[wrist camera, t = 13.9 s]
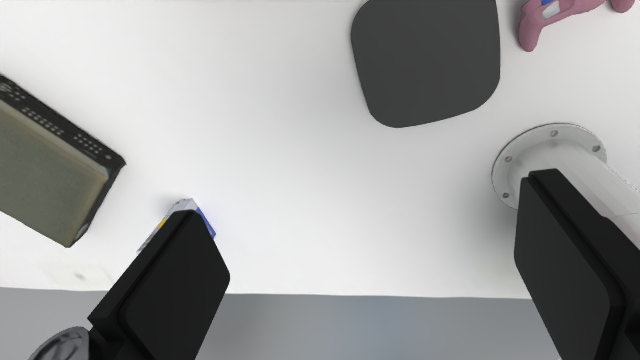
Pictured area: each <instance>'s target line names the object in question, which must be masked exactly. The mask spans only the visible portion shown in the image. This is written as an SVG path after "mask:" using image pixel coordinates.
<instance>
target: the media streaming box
mask: <svg viewBox="0 0 640 360" xmlns="http://www.w3.org/2000/svg"><path fill="white" fill-rule="evenodd" d="M351 43H352V48H353V53H354V58H355V63H356V67H357V71H358V75H359V79H360V83H361V86H362V90H363V93H364V96H365V100H366V103H367V106H368V109H369V111H370V113H371V115H372V116H373V117H374V118H375V119H376V120H377V121H378V122H380V123H381V124H383V125H386V126H389V127H394V128H402V127H409V126H416V125H421V124H426V123H431V122H435V121H439V120H443V119H447V118H451V117H454V116H457V115H460V114H464V113H467V112H469V111H472V110H475V109H477V108H478V107H480V106H481V105H482V104H484V103H485V102H486V101H487V100H488V99H489V98H490V97H491V95H492V94H493V93H494V91H495V89H496V87H497V85H498V83H499V79H500V34H499V23H498V14H497V6H496V0H369V1H368V2H366V3H365V4H364V5H363V6H362V7H361V8H360V10H359V11H358V13H357V15H356V17H355V19H354V22H353V25H352V29H351Z"/></svg>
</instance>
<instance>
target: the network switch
mask: <svg viewBox="0 0 640 360" xmlns="http://www.w3.org/2000/svg"><path fill="white" fill-rule="evenodd" d="M125 165H126V163H125V161H124V160H123V159H122V158H121V157H120V156H118V155H117V154H116V153H114V152H113V151H111V150H110V149H108V148H107V147H105V146H103V145H102V144H100V143H99V142H97V141H95V140H94V139H92V138H91V137H89V136H88V135H86V134H85V133H84V132H82V131H81V130H79V129H78V128H76V127H75V126H73V125H72V124H70V123H69V122H67V121H66V120H64V119H63V118H61V117H59V116H58V115H56V114H55V113H54V112H52V111H51V110H50V109H49V108H47V107H46V106H44V105H43V104H41V103H40V102H38V101H37V100H36V99H34V98H33V97H31V96H29V95H28V94H26V93H25V92H24V91H22V90H21V89H20V88H19V87H18V86H16V85H15V84H14V83H13V82H12V81H10V80H8V79H6V78H4V77H2V76H0V211H2V212H3V213H5V214H7V215H9V216H11V217H13V218H15V219H16V220H18V221H20V222H22V223H23V224H25V225H26V226H28V227H30V228H32V229H33V230H35V231H37V232H39V233H41V234H42V235H44V236H46V237H48V238H50V239H52V240H54V241H55V242H57V243H59V244H61V245H63V246H64V247H65V248H70V247H71V246H72V245H73V244H74V243H75V242H77V241H78V240H79V239H80V238H81V237H82V236H83V235H84V234H85V232H86V231H87V230H88V228H89V226H90V223H91V221H92V219H93V217H94V215H95V213H96V211H97V210H98V208H99V207H100V205H101V203H102V201H103V199H104V197H105V196H106V194H107V192H108V190H109V189H110V188H111V186H112V184H113V182H114V180H115V179H116V177H117V175H118V173H119V171H120V169H121V168H122V167H123V166H125Z"/></svg>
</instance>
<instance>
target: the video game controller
mask: <svg viewBox="0 0 640 360" xmlns="http://www.w3.org/2000/svg"><path fill="white" fill-rule="evenodd" d="M605 1H606V0H530V1H528V2H527V3H526V4H525V5H524V6H523V7H522V8H521V11H522V15H521V20H520V24H519V32H518V34H519V42H520V45H521V47H522V48H523V49H524V50H525V51H526V52H531V51H532V50H533V49H534V48H535V47H536V45H537V41H538V37H539V35H540V32H541V30H542V28H543V27H545V26H547V25H549V24H552V23H555V22H557V21H560V20H562V19H564V18H566V17H568V16H571V15H575V14H580V13H584V12H588V11H590V10H593V9H595V8H596V7H598V6H600V5H601V4H603V3H604V2H605ZM634 1H635V0H612V5H613V8H614V10H615V11H616V12H617V13H624V12H626V11H628V10H629V9H630V8H631V7H632V5H633V4H634Z"/></svg>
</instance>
